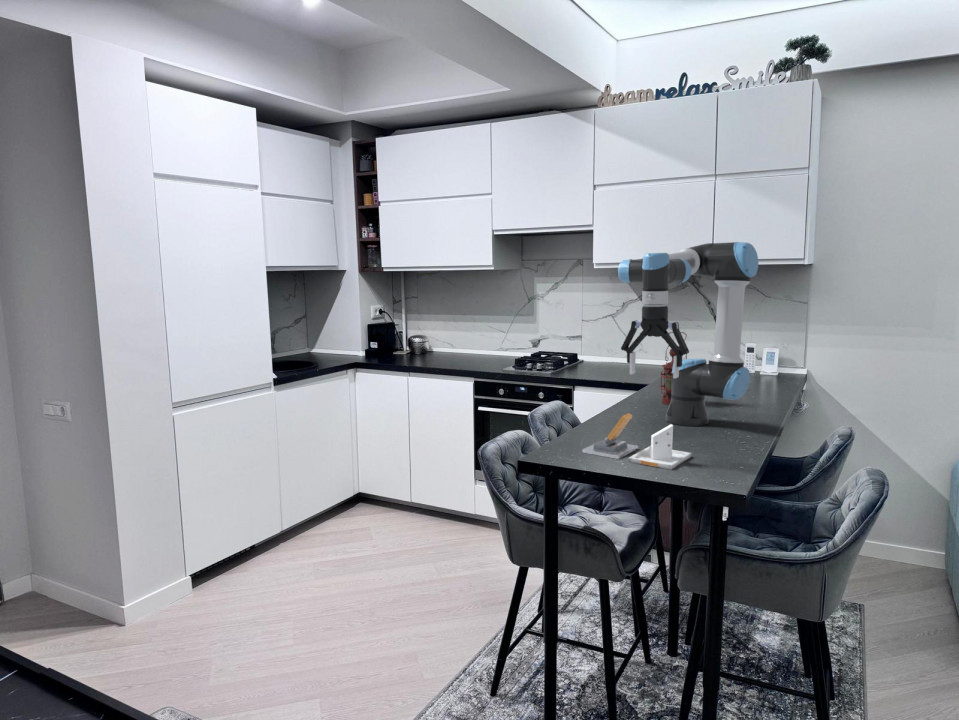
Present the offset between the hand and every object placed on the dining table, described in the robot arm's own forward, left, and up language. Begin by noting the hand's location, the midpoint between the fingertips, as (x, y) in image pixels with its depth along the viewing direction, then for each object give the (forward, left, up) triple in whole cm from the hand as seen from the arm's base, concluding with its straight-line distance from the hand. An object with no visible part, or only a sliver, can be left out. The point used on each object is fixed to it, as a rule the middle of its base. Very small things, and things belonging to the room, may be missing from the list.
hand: (653, 375), depth 201 cm
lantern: (-77, -22, -24) cm, 84 cm away
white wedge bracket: (+6, +5, -24) cm, 25 cm away
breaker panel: (+6, -11, -24) cm, 27 cm away
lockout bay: (+6, +5, -24) cm, 25 cm away
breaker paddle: (+6, -11, -20) cm, 24 cm away
